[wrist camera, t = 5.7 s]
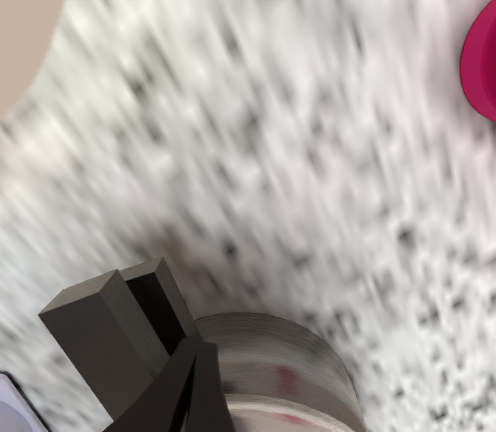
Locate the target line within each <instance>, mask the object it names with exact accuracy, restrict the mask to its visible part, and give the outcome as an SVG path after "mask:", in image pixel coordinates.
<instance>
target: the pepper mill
mask: <svg viewBox="0 0 496 432" xmlns="http://www.w3.org/2000/svg"><path fill="white" fill-rule="evenodd" d="M461 79H462V85H463V88H464V92H465V95H466V97H467V98H468V100H469V101H470V103H471V104H472V106H473V107H474V108H475V109H476V110H477V111H478V112H479V113H480V114H482V115H483V116H485V117H487V118H489V119H490V120H492V121H495V122H496V0H492V1H491V2H490V3H489V4H488V6H487V7H486V8H485V9H484V10H483V11H482V13H481V14H480V15H479V17H478V18H477V19H476V21H475V23H474V24H473V26H472V28H471V30H470V32H469V34H468V37H467V39H466V41H465V45H464V49H463V53H462V59H461Z"/></svg>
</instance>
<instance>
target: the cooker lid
mask: <svg viewBox="0 0 496 432" xmlns="http://www.w3.org/2000/svg"><path fill="white" fill-rule="evenodd" d="M38 316H39V317H40V319H41V320H42V321H43V323H44V324H45V326H46V327H47V328H48V330H49V331H50V333H51V334H52V335H53V337H54V338H55V340H56V341H57V342H58V344H59V345H60V347H61V348H62V349H63V351H64V352H65V353H66V355H67V356H68V358H69V359H70V360H71V362H72V363H73V365H74V366H75V367H76V369H77V370H78V372H79V373H80V374H81V376H82V377H83V379H84V380H85V381H86V383H87V384H88V386H89V387H90V388H91V390H92V391H93V393H94V394H95V395H96V397H97V398H98V399H99V401H100V402H101V404H102V405H103V406H104V408H105V409H106V411H107V412H108V413H109V415H110V416H111V418H112V419H113V420H114V421H115V420H116V419H117V418H118V417H119V416H120V415H121V414H122V413H123V412H124V411H125V410H126V409H128V408H129V407H130V405H131V404H132V403H133V402H134V401H135V400H136V399H137V398H138V397H139V396H140V395H141V394H142V393H143V392H144V390H145V389H146V388H147V387H148V386H149V385H150V384H151V382H152V381H153V380H154V379H155V378H156V376H157V375H158V374H159V372H160V371H161V370H162V369H163V367H164V366H165V365H166V363H167V362H168V360H169V359H170V356H169V354H168V353H167V351H166V349H165V348H164V346H163V344H162V343H161V341H160V339H159V338H158V336H157V334H156V333H155V331H154V329H153V328H152V326H151V324H150V323H149V321H148V319H147V318H146V316H145V314H144V313H143V311H142V309H141V308H140V306H139V304H138V303H137V301H136V299H135V297H134V296H133V294H132V292H131V291H130V289H129V287H128V286H127V284H126V282H125V281H124V279H123V277H122V276H121V274H120V272H119V271H118V269H116V270H113V271H111V272H108V273H105V274H103V275H100V276H98V277H95V278H92V279H90V280H87V281H84V282H82V283H79V284H77V285H74V286H71V287H69V288H66V289H63V290H62V291H61V292H60V293H59V294H58V295H57V296H56V297H55V298H54V299H53V300H52V301H51V302H50V303H49V304H48V305H47V306H46V307H45V308H44V309H43V310H42V311H41V312H40V313H39V314H38ZM224 395H225V398H226V402H227V406H228V409H229V413H230V416H231V419H232V422H233V425H234V427H235V430H236V432H355V431H353V430H352V429H351V428H349V427H348V426H347V425H345V424H344V423H342V422H340V421H338V420H337V419H335V418H333V417H331V416H329V415H327V414H326V413H323V412H321V411H318V410H316V409H313V408H311V407H308V406H306V405H302V404H299V403H295V402H292V401H288V400H285V399H279V398H274V397H268V396H262V395H250V394H224ZM187 412H188V410H187ZM186 420H187V413H186V417H185V420H184V423H183V426H182V430H181V432H185V428H186Z"/></svg>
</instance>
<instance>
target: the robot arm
mask: <svg viewBox="0 0 496 432" xmlns="http://www.w3.org/2000/svg"><path fill="white" fill-rule="evenodd" d="M187 410H188V412H187ZM186 413H187V420H186V428H185V432H236V430H235V427H234V425H233V422H232V419H231V416H230V413H229V409H228V406H227V402H226V398H225V395H224V390H223V386H222V381H221V376H220V370H219V363H218V346H217V344H216V343H210V342H204V341H198V340H192V339H185V338H184V339H182V340H181V341H180V343H179V345H178V347H177V348H176V350H175V352H174V353H173V355H172V356H171V358H170V359H169V360H168V362H167V363H166V365H165V366H164V367H163V369H162V370H161V371H160V372H159V374H158V375H157V376H156V378H155V379H154V380H153V381H152V382H151V384H150V385H149V386H148V387H147V388H146V389H145V390H144V392H143V393H142V394H141V395H140V396H139V397H138V398H137V399H136V400H135V401H134V402H133V403H132V404H131V405H130V407H129V408H128V409H126V410H125V411H124V412H123V413H122V414H121V415H120V416H119V417H118V418H117V419H116V420H115V421H114V422H113V423H112V424H110V425H109V426H108V427H107V428H106V429H105V430H104V431H103V432H181V430H182V426H183V423H184V420H185V417H186ZM0 432H48V431H47V429H46V428H45V427H44V425H43V424H42V423H41V421H40V420H39V419H38V417H37V416H36V415H35V413H34V412H33V411H32V409H31V408H30V407H29V405H28V404H27V402H26V401H25V400H24V398H23V397H22V396H21V394H20V393H19V392H18V390H17V389H16V388H15V386H14V385H13V384H12V382H11V381H10V380H9V378H8V377H7V376H6V375H4V374H0Z"/></svg>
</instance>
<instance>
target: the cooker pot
mask: <svg viewBox="0 0 496 432" xmlns="http://www.w3.org/2000/svg"><path fill="white" fill-rule="evenodd" d="M119 272H120V274H121V276H122V277H123V279H124V281H125V282H126V284H127V286H128V287H129V289H130V291H131V292H132V294H133V296H134V297H135V299H136V301H137V303H138V304H139V306H140V308H141V309H142V311H143V313H144V314H145V316H146V318H147V319H148V321H149V323H150V324H151V326H152V328H153V329H154V331H155V333H156V334H157V336H158V338H159V339H160V341H161V343H162V344H163V346H164V348H165V349H166V351H167V353H168V354H169V356H170V358H171V356H172V355H173V353H174V352H175V350H176V348H177V347H178V345H179V343H180V341H181V340H182V339H184V338H185V339H192V340H198V341H204V342H210V343H216V344H217V346H218V363H219V370H220V376H221V381H222V386H223V390H224V394H250V395H262V396H268V397H274V398H279V399H285V400H288V401H292V402H295V403H299V404H302V405H306V406H308V407H311V408H313V409H316V410H318V411H321V412H323V413H326V414H327V415H329V416H331V417H333V418H335V419H337V420H338V421H340V422H342V423H344V424H345V425H347V426H348V427H349V428H351V429H352V430H353V431H355V432H368V430H367V427H366V424H365V421H364V418H363V415H362V412H361V409H360V406H359V403H358V400H357V397H356V394H355V391H354V388H353V385H352V383H351V380H350V377H349V375H348V372H347V370H346V368H345V366H344V364H343V363H342V361H341V359H340V358H339V356H338V355H337V354H336V353H335V352H334V351H333V349H332V348H331V347H330V346H329V345H328V344H327V343H325V342H324V341H323V340H322V339H321V338H320V337H318V336H317V335H315V334H314V333H312V332H311V331H309V330H307V329H305V328H303V327H301V326H299V325H297V324H295V323H293V322H290V321H287V320H284V319H281V318H278V317H273V316H269V315H265V314H256V313H226V314H217V315H212V316H208V317H204V318H200V319H198V320H195V321H194V320H193V317H192V315H191V313H190V311H189V309H188V307H187V305H186V303H185V301H184V299H183V297H182V295H181V293H180V291H179V289H178V287H177V285H176V283H175V280H174V278H173V276H172V274H171V272H170V270H169V268H168V266H167V264H166V262H165V260H164V258H163V257H161V258H158V259H155V260H152V261H149V262H145V263H142V264H139V265H136V266H133V267H130V268H127V269H124V270H121V271H119Z"/></svg>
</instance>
